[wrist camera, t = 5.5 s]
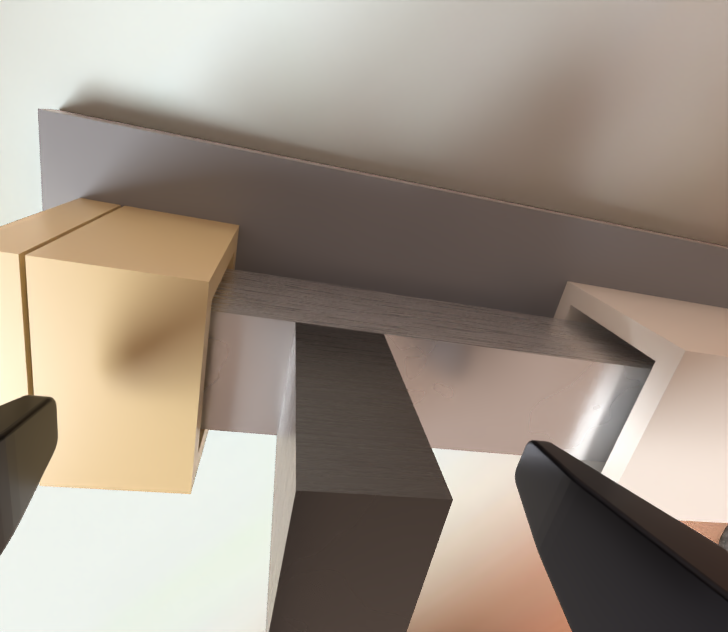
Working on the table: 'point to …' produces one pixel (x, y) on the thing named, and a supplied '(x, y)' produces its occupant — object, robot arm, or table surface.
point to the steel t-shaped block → (391, 425)
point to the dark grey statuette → (724, 539)
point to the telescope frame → (330, 266)
